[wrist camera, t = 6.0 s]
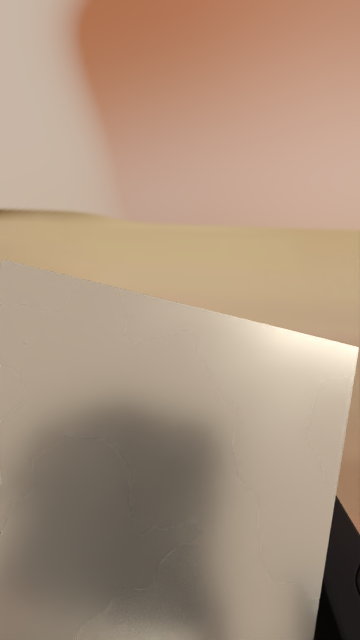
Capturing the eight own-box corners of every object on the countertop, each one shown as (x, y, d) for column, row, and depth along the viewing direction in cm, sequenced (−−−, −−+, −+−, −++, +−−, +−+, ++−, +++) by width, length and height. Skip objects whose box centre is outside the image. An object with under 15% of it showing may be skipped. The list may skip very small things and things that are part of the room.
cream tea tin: (213, 506, 15) (286, 816, 4) (85, 469, 15) (-154, 665, 5) (242, 374, 16) (358, 347, 5) (122, 343, 16) (1, 259, 6)
